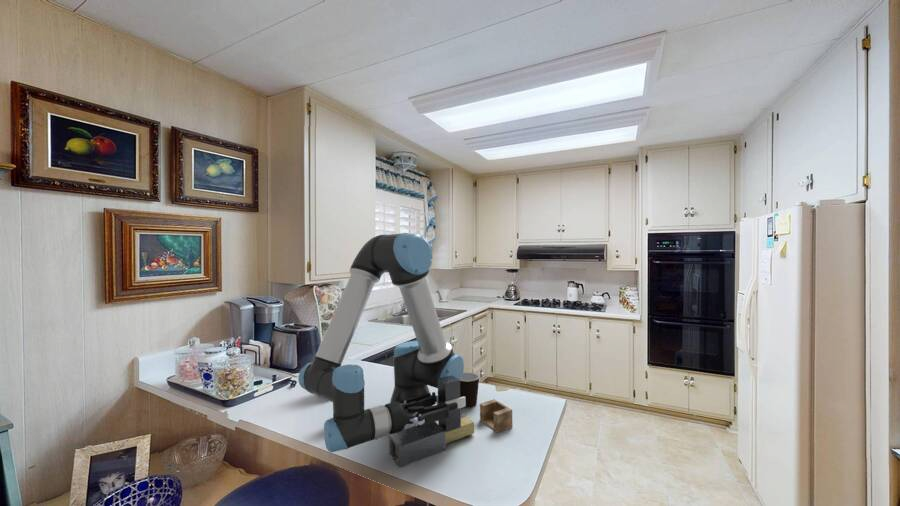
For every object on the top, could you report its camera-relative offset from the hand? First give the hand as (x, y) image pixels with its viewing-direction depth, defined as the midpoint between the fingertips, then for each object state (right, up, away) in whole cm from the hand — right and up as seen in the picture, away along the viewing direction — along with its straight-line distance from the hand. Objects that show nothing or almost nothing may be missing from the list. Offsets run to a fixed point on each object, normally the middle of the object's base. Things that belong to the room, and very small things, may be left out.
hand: (459, 398), depth 101 cm
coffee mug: (+4, -12, +23) cm, 26 cm away
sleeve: (-12, -12, -7) cm, 18 cm away
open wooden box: (+12, -11, +7) cm, 18 cm away
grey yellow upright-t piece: (-7, -11, -4) cm, 14 cm away
